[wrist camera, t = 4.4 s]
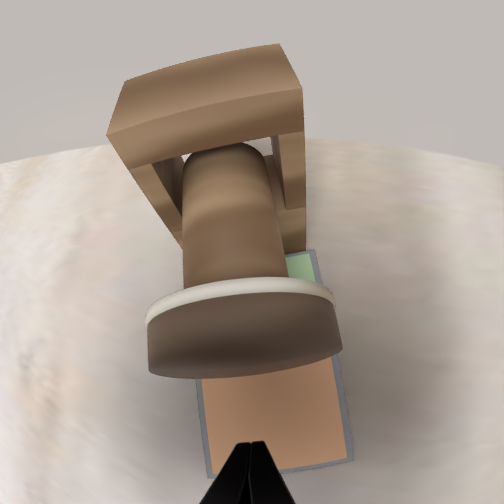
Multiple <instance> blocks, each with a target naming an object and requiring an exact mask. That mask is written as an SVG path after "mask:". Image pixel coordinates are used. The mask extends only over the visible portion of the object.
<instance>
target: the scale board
mask: <svg viewBox="0 0 504 504" xmlns="http://www.w3.org/2000/svg"><path fill="white" fill-rule="evenodd" d="M285 260H286V265H287V270H288V275H289V278H298V279H304V280H309V281H313V282H317V283H319V284H322V280H321V275H320V271H319V267H318V263H317V258H316V254H315V250H309V251H303V252H298V253H292V254H287V255H285ZM322 285H323V284H322ZM196 387H197V397H198V406H199V415H200V424H201V432H202V440H203V448H204V455H205V462H206V469H207V476H208V478H216V477H217V475H218V474H219V472H220V470H221V469H222V467H223V465H224V464H225V462H226V460H227V459H228V457H229V455H230V454H231V452H232V450H233V449H234V447H235V445H236V444H237V443H241V442H250V443H251V442H253V441H261V440H263V441H265V443H266V445H267V447H268V449H269V452H270V454H271V456H272V458H273V460H274V462H275V464H276V466H277V468H278V470H279V472H280V474H282V473H289V472H297V471H303V470H309V469H315V468H321V467H326V466H331V465H336V464H340V463H345V462H349V461H354V453H353V445H352V438H351V431H350V425H349V418H348V412H347V406H346V400H345V394H344V388H343V383H342V377H341V371H340V366H339V361H338V355H337V354H335V355H333V356H331V357H329V358H326V359H324V360H321V361H318V362H315V363H311V364H308V365H304V366H300V367H296V368H292V369H287V370H282V371H277V372H272V373H266V374H259V375H251V376H243V377H232V378H215V379H196Z"/></svg>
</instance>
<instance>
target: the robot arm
mask: <svg viewBox="0 0 504 504" xmlns="http://www.w3.org/2000/svg"><path fill="white" fill-rule="evenodd" d="M199 504H296V503H295V502H294V500H293V498H292V496H291V494H290V492H289V490H288V488H287V486H286V484H285V482H284V480H283V478H282V476H281V474H280V472H279V470H278V468H277V466H276V464H275V462H274V460H273V458H272V456H271V454H270V452H269V449H268V447H267V445H266V443H265V441H263V440H261V441H253V442H251V443H250V442H241V443H237V444H236V445H235V447H234V449H233V450H232V452H231V454H230V455H229V457H228V459H227V460H226V462H225V464H224V465H223V467H222V469H221V470H220V472H219V474H218V475H217V477H216V478H215V480H214V482H213V483H212V485H211V486H210V488H209V490H208V491H207V493H206V494H205V496H204V497H203V499H202V500H201V502H200V503H199Z"/></svg>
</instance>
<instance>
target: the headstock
mask: <svg viewBox="0 0 504 504" xmlns="http://www.w3.org/2000/svg"><path fill="white" fill-rule="evenodd" d="M303 112H304V111H303V91H302V87H301V85H300V83H299V80H298V78H297V76H296V74H295V72H294V70H293V69H292V67H291V65H290V63H289V61H288V59H287V57H286V55H285V54H284V51H283V49H282V48H281V46H280V44H272V45H265V46H258V47H252V48H246V49H241V50H236V51H230V52H225V53H221V54H216V55H212V56H207V57H203V58H199V59H195V60H191V61H187V62H184V63H180V64H177V65H173V66H169V67H166V68H163V69H159V70H157V71H153V72H150V73H147V74H144V75H141V76H138V77H135V78H132V79H130V80H127V81H125V82H124V85H123V87H122V90H121V93H120V95H119V98H118V101H117V104H116V107H115V110H114V112H113V115H112V118H111V121H110V125H109V128H108V131H107V134H106V136H107V137H108V139H109V141H110V142H111V144H112V145H113V147H114V149H115V150H116V152H117V153H118V155H119V156H120V158H121V159H122V161H123V163H124V164H125V166H126V167H127V169H128V170H129V172H130V173H131V175H132V176H133V178H134V179H135V181H136V182H137V184H138V185H139V187H140V188H141V190H142V191H143V193H144V194H145V196H146V197H147V199H148V200H149V202H150V203H151V205H152V206H153V208H154V209H155V211H156V212H157V214H158V215H159V216H160V218H161V219H162V221H163V222H164V224H165V225H166V227H167V228H168V229H169V231H170V232H171V234H172V235H173V236H174V238H175V239H176V241H177V242H178V244H179V245H180V246H181V248H182V249H183V236H182V187H183V167H184V164H185V163H184V161H183V159H182V157H181V155H185V154H189V153H194V152H198V151H202V150H206V149H211V148H215V147H220V146H225V145H229V144H234V143H239V142H244V141H249V140H255V139H260V138H266V137H271V144H272V151H273V155H269V156H264V157H263V158H264V160H265V163H266V167H267V172H268V176H269V181H270V186H271V191H272V195H273V200H274V205H275V210H276V215H277V219H278V224H279V229H280V234H281V239H282V244H283V249H284V254H285V255H287V254H292V253H298V252H303V251H306V173H305V136H304V113H303Z"/></svg>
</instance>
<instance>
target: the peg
mask: <svg viewBox="0 0 504 504" xmlns="http://www.w3.org/2000/svg"><path fill="white" fill-rule="evenodd" d="M182 236H183V278H184V289H183V290H180V291H177V292H174V293H172V294H170V295H167V296H165V297H163V298H161V299H159V300H158V301H156V302H155V303H153V304H152V305H151V306H150V307H149V308H148V309H147V312H146V330H147V337H148V363H149V371H150V372H151V373H153V374H156V375H159V376H165V377H172V378H185V379H215V378H232V377H243V376H251V375H259V374H266V373H272V372H277V371H282V370H287V369H292V368H296V367H300V366H304V365H308V364H311V363H315V362H318V361H321V360H324V359H326V358H329V357H331V356H333V355H335V354H337V353H339V352H340V351H341V350H342V343H341V338H340V333H339V328H338V324H337V319H336V314H335V303H334V298H333V295H332V292H331V291H330V290H329V288H327V287H325V286H324V285H322V284H319V283H317V282H313V281H309V280H304V279H298V278H289V275H288V270H287V265H286V260H285V254H284V249H283V244H282V239H281V234H280V229H279V224H278V219H277V215H276V210H275V205H274V200H273V195H272V191H271V186H270V181H269V176H268V172H267V167H266V163H265V160H264V158H263V156H262V155H261V153H260V152H259V151H258V150H256V149H255V148H254V147H252V146H250V145H248V144H245V143H242V142H239V143H234V144H229V145H225V146H220V147H215V148H211V149H206V150H202V151H198V152H194V153H192V154H191V155H190V156H189V157H188V158H187V160H186V162H185V164H184V167H183V187H182Z"/></svg>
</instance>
